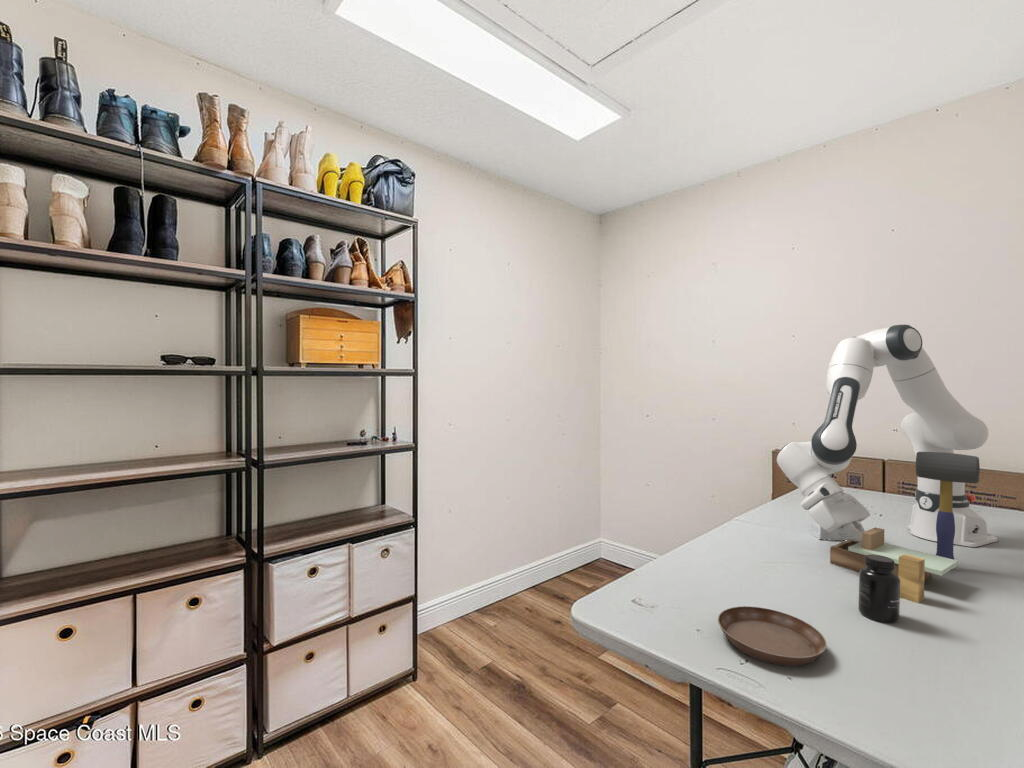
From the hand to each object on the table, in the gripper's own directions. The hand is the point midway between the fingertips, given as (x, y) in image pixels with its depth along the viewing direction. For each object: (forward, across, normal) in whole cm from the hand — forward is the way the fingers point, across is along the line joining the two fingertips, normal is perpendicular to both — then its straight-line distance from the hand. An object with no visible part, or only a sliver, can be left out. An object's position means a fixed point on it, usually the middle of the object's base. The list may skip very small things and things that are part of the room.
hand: (864, 539), depth 127 cm
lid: (+7, -1, +4) cm, 8 cm away
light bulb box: (-6, -19, -16) cm, 26 cm away
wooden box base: (+7, -1, -3) cm, 8 cm away
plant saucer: (+10, +57, -1) cm, 58 cm away
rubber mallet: (+13, -18, +3) cm, 22 cm away
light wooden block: (+15, +12, +4) cm, 19 cm away
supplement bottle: (+15, +27, +4) cm, 31 cm away
